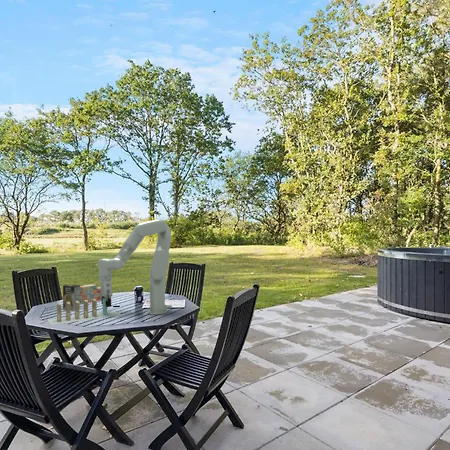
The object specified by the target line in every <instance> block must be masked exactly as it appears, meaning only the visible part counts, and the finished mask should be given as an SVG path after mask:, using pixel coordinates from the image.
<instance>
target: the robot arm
mask: <svg viewBox="0 0 450 450" xmlns="http://www.w3.org/2000/svg"><path fill="white" fill-rule="evenodd" d="M156 234H157V240H156V247H155V250H154V252H153V257H152V258H153V259H152V261H151V262H152V263H151V266H150V269H149V309H148V310H147V314H149V315H154V316H155V315H158V316H159V315H164V314H166V313H168V309H172V308H173V305H172V304H169V305H168V304H167V305H166V273H167V270H168V264H169V260H170V247H171V241H172V236H173V235H172V230H171V228H170V226H169V225H168V223H166V221H165V220H163V219H160V218H159V219H153V220H150V221H145V222H144V221H143V222H140V223H137V224H136V225H135V226H134V228H133V230H132V231H131V232H130V233H129V235H128V236H127V238H126V239H125V241H124V242H123V244H122V247H121V248H120V250H118V252H117V254H116V255H115V256H114V257H113V258H109V257H106V258H104V257H103V258H100V259H98V281H99V282H100V287H101V295H102V296H101V300H100V301H101V305H103V298H105V297H106V307H107V308H110V307H112V296H113V284H112V280H113V278H112V277H113V276H112V270H113V271H114V270H115V271H117V270H121V269H122V268H123V266H124V265H125V264H126V262H127V261H128V260H129V258H130V257H131V256H132V254H133V253H134V252H135V251H136V250H137V248H138V247H139V246H140V244H141V243H142V241H143V240H144V239H145V238H146V237H147V236H152V235H156Z"/></svg>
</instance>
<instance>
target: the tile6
mask: <svg viewBox="0 0 450 450" xmlns="http://www.w3.org/2000/svg"><path fill="white" fill-rule="evenodd" d="M56 318H57V321H58V322H61V318H62V303H61V302H57V303H56Z"/></svg>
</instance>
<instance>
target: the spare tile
mask: <svg viewBox="0 0 450 450" xmlns="http://www.w3.org/2000/svg"><path fill="white" fill-rule="evenodd" d="M102 312H103V315H107V312H108V307H106V298H103V304H102Z"/></svg>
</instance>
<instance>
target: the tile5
mask: <svg viewBox="0 0 450 450" xmlns="http://www.w3.org/2000/svg"><path fill="white" fill-rule="evenodd" d="M71 311H72V310H71V303H70V302H66V310H65V317H66V319H67V320H68V321H69V320H71V316H72V315H71Z"/></svg>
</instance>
